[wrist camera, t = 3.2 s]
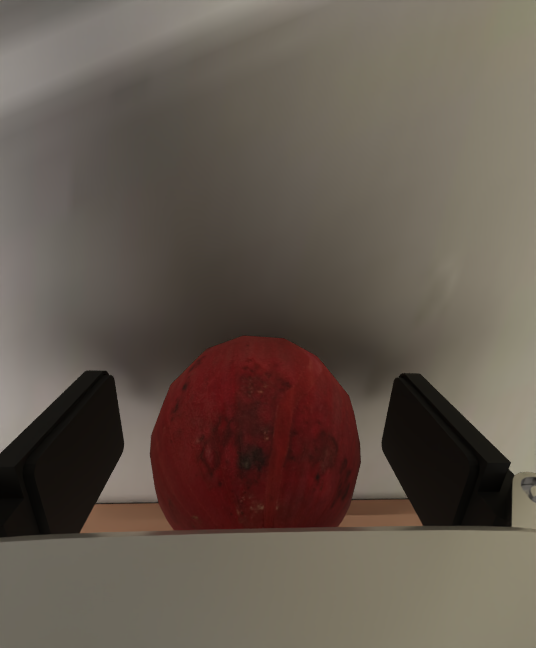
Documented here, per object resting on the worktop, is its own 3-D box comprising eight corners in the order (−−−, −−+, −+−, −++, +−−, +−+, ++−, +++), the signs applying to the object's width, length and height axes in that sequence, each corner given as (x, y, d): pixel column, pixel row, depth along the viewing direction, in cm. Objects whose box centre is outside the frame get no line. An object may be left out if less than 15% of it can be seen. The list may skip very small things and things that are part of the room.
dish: (81, 504, 14) (55, 548, 13) (412, 499, 15) (434, 539, 14) (123, 686, 20) (110, 735, 18) (365, 674, 21) (376, 719, 19)
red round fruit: (181, 301, 11) (43, 480, 4) (335, 309, 12) (481, 484, 4) (185, 431, 13) (100, 714, 6) (316, 433, 14) (394, 702, 6)
